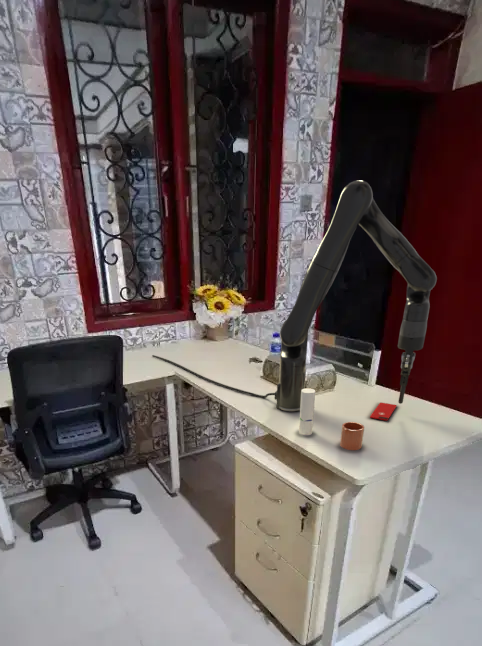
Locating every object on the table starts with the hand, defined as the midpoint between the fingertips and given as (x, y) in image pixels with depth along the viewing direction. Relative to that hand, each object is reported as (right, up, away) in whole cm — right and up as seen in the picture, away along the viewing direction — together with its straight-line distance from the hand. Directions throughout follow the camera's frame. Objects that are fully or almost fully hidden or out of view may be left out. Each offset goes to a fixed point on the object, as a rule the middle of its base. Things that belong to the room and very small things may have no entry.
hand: (403, 384), depth 142 cm
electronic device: (-4, -9, +7) cm, 12 cm away
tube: (-35, -17, -5) cm, 39 cm away
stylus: (0, -6, +3) cm, 7 cm away
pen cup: (-23, -21, -15) cm, 35 cm away
